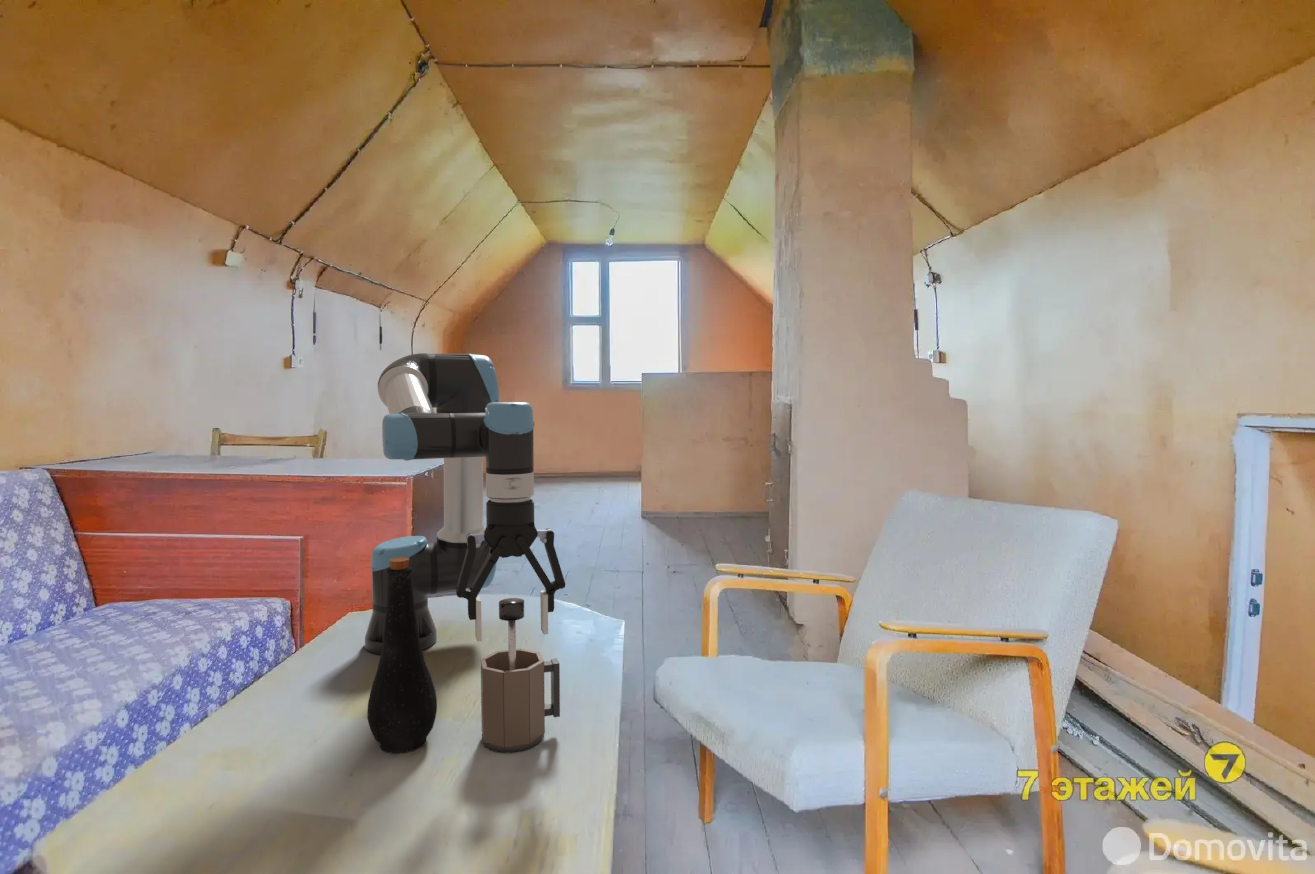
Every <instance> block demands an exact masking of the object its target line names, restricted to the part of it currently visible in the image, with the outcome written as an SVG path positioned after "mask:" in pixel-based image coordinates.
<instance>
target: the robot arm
mask: <svg viewBox="0 0 1315 874" xmlns="http://www.w3.org/2000/svg"><path fill="white" fill-rule="evenodd" d="M495 368H496V367H495V366H494V363H493V361H492V360H491V358H490V357H488V356H487V355H484V354H476V353H474V354H473V353H425V352H424V353H423V352H422V353H421V352H420V353H413V354H409V355H406V356H403V357H401V358H399V359H397V360H394V361H393V362H391V363H390V364H389V365H388V366H386V367H385V368H383V369H384V370H383V371H382V372H381V374H380V375H379V378H378V381H377V392H378V396H379V398H380V400H381V402H382V403H383V404H384V405H385V407H387V409H388V410H387V411H388V414H386V415H384V416H383V418H382V423H381V424H382V425H381V426H382V427H381V429H382V431H381V432H382V434H381V437H382V450H383V451H382V452H383V455H384V457H385V458H386V459H389V460H404V461H407V462H408V461H411V460H429V459H430V460H432V459H433V460H434V459H435V460H436V459H443V526H442V527H441V528H440V529H439V530H438V531H437V532H436V541H433V542H432V541H430V542H428V540H427V538H426V537H425V536H423V535H415V536H414V535H409V536H407V535H406V536H401V537H398V538H396V537H395V538H393V539H390V540H386V541H384V542H381V543H379V544H377V545H376V546H375V547H374V548H373V550H372V552H371V565H370V571H371V586H372V588H371V591H372V595H371V597H372V600H371V601H372V613H371V616H370V618H369V619H370V620H369V623H368V626H367V630H366V633H365V636H364V649H365V650H366V651H367V652H369V653H371V654H375V655H381V650H382V645H383V637H384V628H385V618H386V607H387V584H388V575H387V569H389V568H391V567H390V562H389V560H390V559H392V558H397V557H407V558H409V567H412V573H411V574H412V585H413V597H414V607H415V614H416V621H417V627H418V633H419V639H420V643H421V648H422V651H423V650H425V649H428V648H430V647H432V646H433V645H434V644H436V643H437V639H438V638H437V637H438V636H437V628H436V625H435V622H434V619H433V617H432V614H431V612H430V608H429V601H428V600H429V599H428V598H429V596H431V595H436V594H437V595H438V594H446V593H455V595H456V597H458V598H460V599H461V598H462V599H465V600H467V615H468V616H467V617H468V619H469V621H473V620H475V621H474V625H475V630H474V631H475V633H474V634H475V640H476V642H477V643H478V642H483V641H482V640H483V637H482V630H483V629H482V628H483V627H482V599H481V596H480V595H479V594H480V592H481V590H482V589H485V588H487V587H489V586H490V585H491V584H492V582H493V580H494V578H495V574H496V569H497V564H498V563H497V562H498V560H499V559H500V558H501V559H505V558H510V557H516V558H518V557H520V558H521V557H522V556H525V558H526V559H527V561H528V563H529V564H530V566H531V567H532V569H533V570H534V572H535V574H536V576H537V577H538V579H539V580H540V582H541V583H542V584H541V585H543V587H544V590H542V589H541V590H540V591H539V593H540V594H539V595H540V597H539V598H540V631H541V632H542V634H543V635H549V613H553V612H554V610H555V594H556V592H557V591H559V590H560V589H561V590H562V589H564V588H566V582H565V581H566V580H565V578H564V575H563V571H562V569H561V564H560V561H559V559H558V555H557V552H556V548H555V544H554V543H555V532H554V530H552V529H551V528H549V527H548V528H545V529H537V528H536V526H535V525H536V524H535V500H533V499H532V498H531V497H533V496H534V495H535V480H534V479H535V478H534V477H535V476H534V475H535V474H534V469H535V468H534V466H535V464H534V455H535V453H534V428H535V421H534V413H533V412H534V411H533V406H532V405H531V403H529V402H525V401H523V402H520V401H509V402H508V401H503V402H502V401H499V399H500V394H499V393H500V390H499V382H498V377H497V373H496V369H495ZM434 408H435V410H434ZM435 411H436V412H435ZM484 458H485V467H486V468H485V492H486V493H485V496H486V497H487V499H488V500H487V501H486V503H485V505H486V507H485V509H486V511H485V512H486V515H485V516H486V526H484V524H483V523H484V522H483V521H484V518H483V517H484V516H483V515H484ZM537 538H539V541H540V543H542V544H543V545H544V549H545V552H546V556H547V559H548V562H549V565H550V568H551V572H552V575H553V579H554V580H553V581H550V579H549V577H548V575H547V574H546V571H544V568H543V567H542V566H541V563H540V562H539V561H538V559H537V557H536V556H535V554H534V552H533V551H532V549H531V546H532V545H533V544H534V542H535V540H536V539H537Z"/></svg>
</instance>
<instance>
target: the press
mask: <svg viewBox="0 0 1315 874" xmlns="http://www.w3.org/2000/svg"><path fill="white" fill-rule="evenodd" d="M560 672H561V671H560V662H559V660H558V658H556V657H555V658H550V660H549V661H545V660H544V657H543V656H542V653H541V652H540V651H536V650H529V649H525V648H516V670H509V659H508V649H504V650H497V651H495V652H492V653H490V654H488V655H486V656H484V657H482V658H480V697H481V698H480V705H481V706H480V707H481V717H480V718H481V744H482V746H483V747H484V748H486V750H489V751H492V752H494V753H500V754H516V753H521V752H525V751H528V750H531V749H533V748H535V747H537V746H539V744H541V743H542V742H543V740H544V738H545V733H546V730H545V729H546V727H545V725H546V724H545V722H546V720H545V718H546V717H550V716H553V718H558V717H559V718H560V717H561V713H560V712H561V701H560V699H561V693H560V691H561V689H560V688H561V686H560V678H561V677H560V676H561V675H560V674H561V673H560ZM546 673H550V704H545V674H546Z"/></svg>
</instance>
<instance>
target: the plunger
mask: <svg viewBox="0 0 1315 874" xmlns="http://www.w3.org/2000/svg"><path fill="white" fill-rule="evenodd" d="M524 617H525V599H522V598H518V597H509V598H504V599H501V600H499V601H498V618H499V620H501V621H506V622H507V639H508V640H507V641H508V642H507V643H508V644H507V646H508V649H507V650H508V659H509V670H516V649H517V648H516V647H517V639H516V638H517V628H516V627H517V626H516V625H517V623H516V621H518V620H522V619H523V618H524Z"/></svg>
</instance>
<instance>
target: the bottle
mask: <svg viewBox="0 0 1315 874" xmlns="http://www.w3.org/2000/svg"><path fill="white" fill-rule="evenodd" d="M389 562H390V567H391V568H389V569H387V575H388V584H387V607H386V618H385V628H384V637H383V645H382V650H381V654H380V657H379V662H378V665H377V666H378V667H377V670H376V673H375V676H374V679H373V681H372V685H371V689H370V693H369V697H368V703H367V722H368V726H369V728H370V732H371V734H372V736H373V738H374V739H375V741H376V742H377V743H378V744H379V747H380V750H381V751H383V753H388V754H397V755H398V754H406V753H410V752H413V751H415V750H418V749H419V748H421V747H423V746H424V745H425V744H426V743H427V737H428V736H429V734H430V733H431V732H432V730H433V728H434V724H435V720H436V717H437V712H438V711H437V709H438V707H437V706H438V705H437V704H438V702H437V699H438V698H437V692H436V689H435V688H436V687H435V684H434V680H433V678H432V676H431V673H430V670H429V668H428V665H427V664H426V659H425V657H424V652H423V650H422V648H421V643H420V639H419V633H418V627H417V621H416V614H415V607H414V597H413V585H412V574H411V573H412V567H409V558H407V557H397V558H392V559H390V560H389Z"/></svg>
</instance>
